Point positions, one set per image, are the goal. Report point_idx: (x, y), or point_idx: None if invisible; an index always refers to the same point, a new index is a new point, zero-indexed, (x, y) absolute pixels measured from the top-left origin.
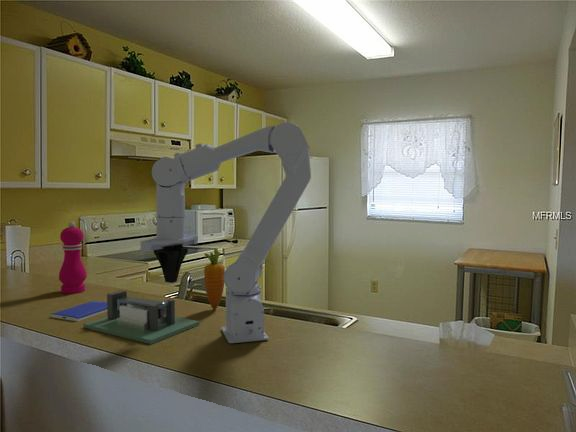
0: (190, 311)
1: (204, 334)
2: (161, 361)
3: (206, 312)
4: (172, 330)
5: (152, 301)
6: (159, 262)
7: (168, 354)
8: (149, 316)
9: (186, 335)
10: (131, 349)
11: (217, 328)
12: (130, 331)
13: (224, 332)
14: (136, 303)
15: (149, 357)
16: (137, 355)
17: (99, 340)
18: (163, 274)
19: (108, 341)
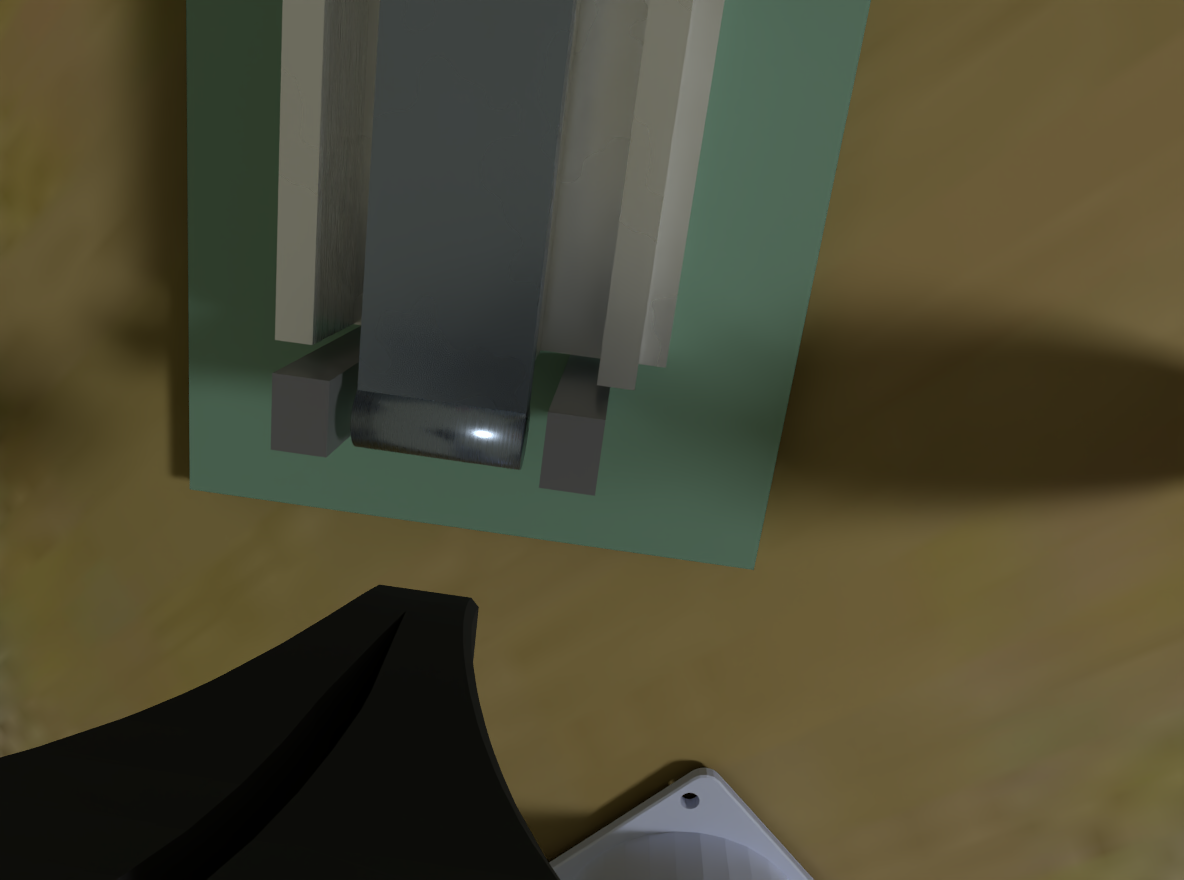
0: (1141, 239)
1: (560, 700)
2: (31, 709)
3: (1144, 414)
4: (448, 502)
5: (494, 236)
6: (112, 730)
7: (134, 685)
8: (320, 348)
9: (484, 597)
10: (61, 413)
11: (723, 719)
12: (257, 187)
13: (595, 844)
14: (383, 58)
15: (32, 611)
16: (11, 523)
17: (49, 17)
18: (314, 625)
19: (76, 115)
